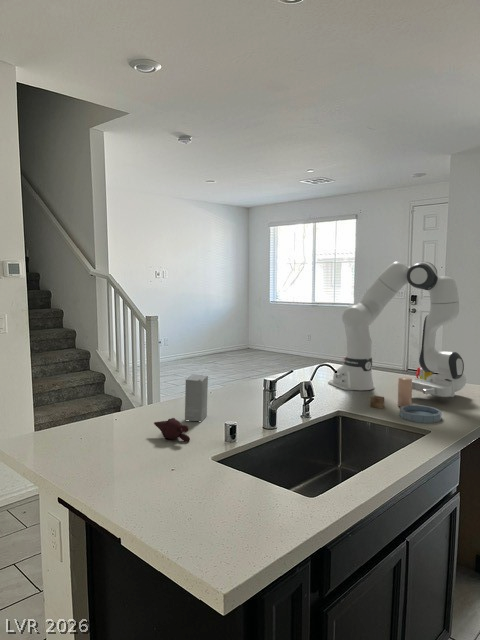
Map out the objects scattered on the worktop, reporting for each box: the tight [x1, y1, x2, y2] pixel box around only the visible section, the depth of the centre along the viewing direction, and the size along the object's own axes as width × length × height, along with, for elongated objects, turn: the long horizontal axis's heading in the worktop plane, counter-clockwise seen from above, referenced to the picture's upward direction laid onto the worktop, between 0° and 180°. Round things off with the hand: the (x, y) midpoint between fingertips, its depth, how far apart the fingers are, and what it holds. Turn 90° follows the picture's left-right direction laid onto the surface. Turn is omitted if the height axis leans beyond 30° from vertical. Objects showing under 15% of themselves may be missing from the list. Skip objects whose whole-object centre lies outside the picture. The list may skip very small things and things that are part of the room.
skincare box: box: [184, 373, 209, 422], centre depth 172 cm, size 8×7×16 cm
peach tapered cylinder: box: [397, 377, 413, 408], centre depth 188 cm, size 5×5×11 cm
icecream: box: [153, 417, 191, 443], centre depth 152 cm, size 7×7×15 cm
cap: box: [415, 366, 421, 379], centre depth 237 cm, size 8×6×6 cm
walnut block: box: [370, 395, 385, 410], centre depth 187 cm, size 4×4×4 cm
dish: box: [399, 404, 443, 424], centre depth 174 cm, size 14×14×2 cm
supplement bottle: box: [419, 368, 433, 380], centre depth 224 cm, size 6×6×10 cm
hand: (414, 389), depth 191 cm, fingers open, 8 cm apart
